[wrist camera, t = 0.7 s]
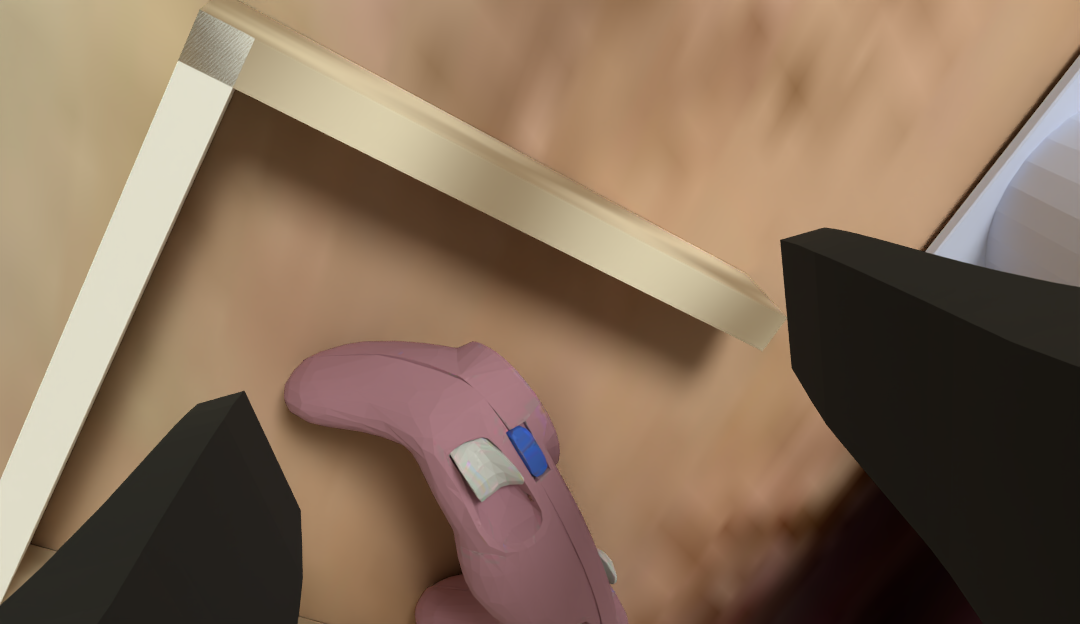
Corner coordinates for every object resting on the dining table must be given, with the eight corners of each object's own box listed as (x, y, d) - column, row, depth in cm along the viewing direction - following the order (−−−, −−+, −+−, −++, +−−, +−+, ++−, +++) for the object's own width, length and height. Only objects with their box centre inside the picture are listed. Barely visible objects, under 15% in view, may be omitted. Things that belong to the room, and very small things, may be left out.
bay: (746, 273, 23) (787, 317, 20) (453, 683, 28) (461, 754, 25) (220, -10, 17) (200, 9, 15) (-25, 560, 22) (-67, 636, 20)
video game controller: (529, 532, 27) (687, 654, 22) (412, 629, 26) (553, 788, 20) (410, 270, 23) (575, 343, 17) (256, 367, 21) (385, 483, 15)
